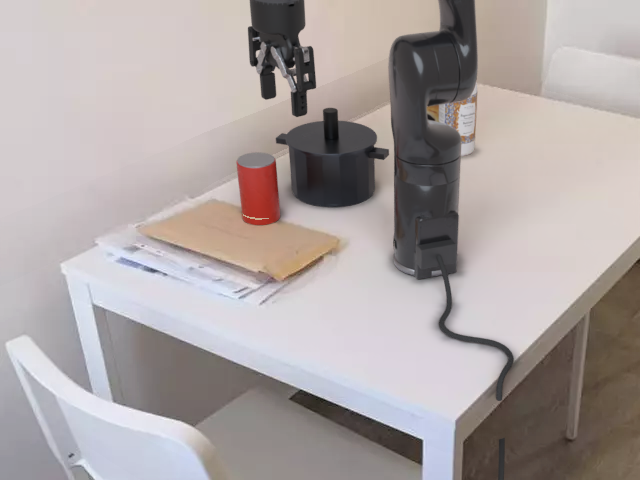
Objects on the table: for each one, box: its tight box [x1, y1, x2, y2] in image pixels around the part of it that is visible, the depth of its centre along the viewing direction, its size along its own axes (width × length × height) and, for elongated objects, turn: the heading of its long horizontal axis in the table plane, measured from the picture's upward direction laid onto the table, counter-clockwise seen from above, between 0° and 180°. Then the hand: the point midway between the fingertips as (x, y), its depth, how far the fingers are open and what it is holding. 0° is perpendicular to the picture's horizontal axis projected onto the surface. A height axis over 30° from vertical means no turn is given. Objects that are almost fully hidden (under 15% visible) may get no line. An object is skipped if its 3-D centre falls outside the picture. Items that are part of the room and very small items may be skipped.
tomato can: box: [235, 151, 281, 226], centre depth 138 cm, size 6×6×10 cm
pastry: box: [427, 105, 439, 122], centre depth 177 cm, size 9×7×4 cm
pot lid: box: [286, 107, 378, 157], centre depth 144 cm, size 15×15×6 cm
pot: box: [275, 132, 390, 208], centre depth 148 cm, size 14×19×9 cm
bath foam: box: [439, 81, 478, 157], centre depth 161 cm, size 7×7×20 cm
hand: (284, 106), depth 131 cm, fingers open, 8 cm apart
